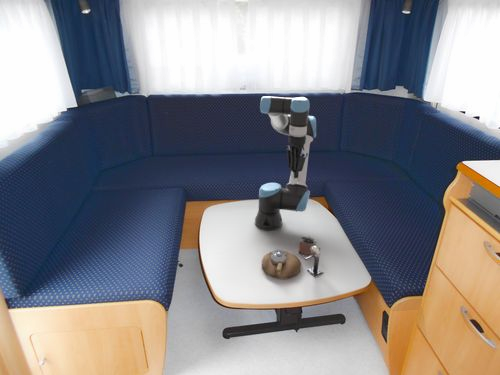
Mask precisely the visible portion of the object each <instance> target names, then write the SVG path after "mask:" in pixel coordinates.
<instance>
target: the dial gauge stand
mask: <svg viewBox="0 0 500 375" xmlns="http://www.w3.org/2000/svg"><path fill="white" fill-rule="evenodd" d="M310 252H311V254H312V255H311V256H309V257H308V256H305V257H304V260H305V261H307V260H309V259H312V258H314V259H313V260H314V261H313V266H312V267H310V268H307V272H308V273H309V272H310V273H309V274H310V275H312V276H313V277H314V278H316V277H319V275H322V274H324V271H323V270H321V269H320V268H319V262H320V256H321V248H320V247H318V246H317V245H316V246H312V247H311V248H310Z"/></svg>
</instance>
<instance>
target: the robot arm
mask: <svg viewBox="0 0 500 375" xmlns="http://www.w3.org/2000/svg"><path fill="white" fill-rule="evenodd" d="M310 106H311V104H310V100H309V99H308V98H306V97H304V96H299V97H283V96H282V97H281V96H270V95H268V96H262V97H261V99H260V103H259V109H260V112H261V114H266V115H268V117H269V118H270V124H271V126H272V129H274V130H275V131H276V132H277V133H280V134H282V135H285V136H288V145H286V146H285V151H286V160H287V168H289V169H290V174H289V175H290V176H289V182H288V183H287V184H286V185H285V187H282V185H281V184H280V183H277V182H267V183H264V184H262V185H261V186H260V188H259V192H258V211H257V213H256V216H255V218H254V224H255V225H256V227H257V228H259V229H260V230H265V231H275V230H278V229H279V228H281V227H282V226H283V218H282V215H281V210H284V211H292V212H302V213H303V212H305V211H306V209H307V206H308V203H309V199H310V194H311V191H310V190H309V189H308V188H309V187H308V185H307V184H306V183H307V182H306V181H307V179H306V178H307V171H308V162H309V153H310V145H311V143H312V142H313V141H314V139H315V138H316V137H317V119H316V117H315V116H313V115H309V113H310V112H309V111H310V108H311V107H310Z"/></svg>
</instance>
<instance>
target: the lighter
mask: <svg viewBox="0 0 500 375" xmlns="http://www.w3.org/2000/svg"><path fill="white" fill-rule="evenodd" d="M298 246H299V247H298V251H297V253H298V255H301V256H303V255H304V257H308V256H311V255H312V254H311V252H310V248H311V247H312V246H317V242H316V241H315V238H314V237H311V236H310V235H308V236H305V235H301V237H300V239H299V245H298Z"/></svg>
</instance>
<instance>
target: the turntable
mask: <svg viewBox="0 0 500 375" xmlns="http://www.w3.org/2000/svg"><path fill="white" fill-rule="evenodd" d="M273 251H274V250H273ZM273 251H269V252H267V253H266V254H265V255H264V256H263V257H262V259H261V269H262V270H263V272H264V273H265V274H266V275H267V276H269V277H271V278H274V279H281V280H288V279H292V278H294V277H296V276H298V275H299V273H300V272H301V270H302V269H301V268H302V261H301V260H300V258H299V256H298V255H295V254H294V253H293V252H290V251H285V250H283V251H284V252H285V253H286V254H287V259H286V264H285V265H284V266H282V263H280V262H279V263H278V266H274V265H273V264H272V263H271V254H272V252H273Z"/></svg>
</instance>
